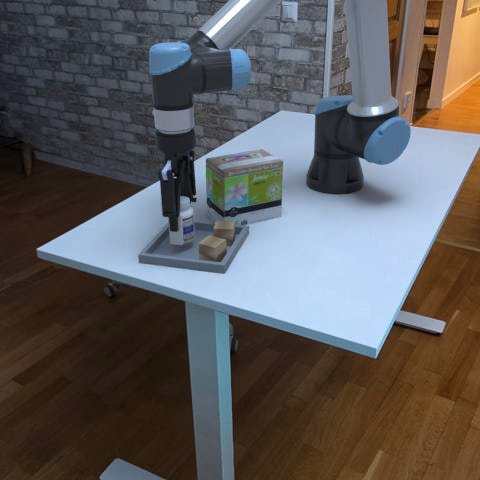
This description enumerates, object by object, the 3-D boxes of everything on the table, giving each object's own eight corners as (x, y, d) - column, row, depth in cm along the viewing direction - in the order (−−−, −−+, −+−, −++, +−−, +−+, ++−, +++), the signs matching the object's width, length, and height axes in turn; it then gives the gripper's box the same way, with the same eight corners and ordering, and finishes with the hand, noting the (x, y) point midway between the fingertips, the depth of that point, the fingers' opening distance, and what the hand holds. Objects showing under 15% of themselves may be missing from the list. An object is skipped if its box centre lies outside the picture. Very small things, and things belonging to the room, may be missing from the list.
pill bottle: (170, 233, 121) (167, 195, 117) (195, 232, 121) (192, 194, 117) (169, 244, 116) (166, 205, 112) (195, 243, 116) (192, 203, 112)
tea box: (225, 233, 126) (223, 170, 119) (206, 217, 134) (203, 157, 127) (283, 219, 132) (283, 158, 125) (261, 204, 140) (261, 146, 133)
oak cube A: (235, 237, 122) (234, 220, 121) (233, 246, 119) (232, 229, 117) (216, 237, 123) (216, 220, 121) (214, 245, 119) (213, 228, 117)
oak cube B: (226, 257, 115) (226, 239, 113) (215, 265, 111) (215, 247, 110) (210, 252, 116) (209, 235, 115) (199, 260, 113) (198, 243, 112)
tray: (249, 236, 124) (248, 226, 123) (224, 276, 109) (224, 265, 108) (172, 227, 129) (172, 218, 128) (139, 265, 113) (138, 254, 112)
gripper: (174, 115, 117) (181, 218, 127) (136, 141, 101) (147, 255, 112) (208, 117, 115) (213, 221, 125) (175, 143, 99) (183, 259, 110)
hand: (182, 237), depth 118 cm, fingers closed on pill bottle, 5 cm apart
